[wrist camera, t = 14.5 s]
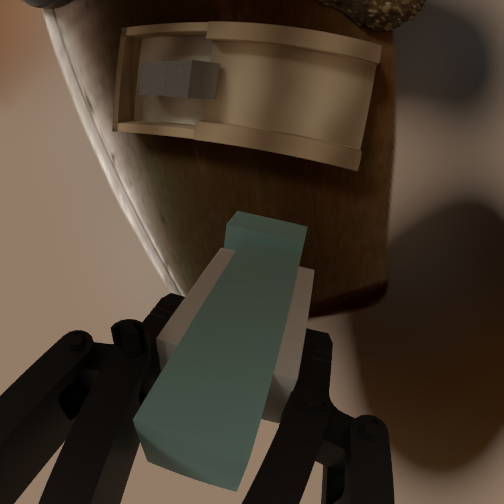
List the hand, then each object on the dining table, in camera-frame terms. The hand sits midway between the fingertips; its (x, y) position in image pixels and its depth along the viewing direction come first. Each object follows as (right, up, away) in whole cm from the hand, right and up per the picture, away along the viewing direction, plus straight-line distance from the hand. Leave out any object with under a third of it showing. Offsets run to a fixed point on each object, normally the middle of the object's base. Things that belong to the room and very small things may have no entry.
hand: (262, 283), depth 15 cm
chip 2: (-5, +15, +6) cm, 17 cm away
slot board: (-1, +16, +9) cm, 18 cm away
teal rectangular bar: (+1, +1, +3) cm, 4 cm away
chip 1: (-8, +16, +8) cm, 20 cm away
